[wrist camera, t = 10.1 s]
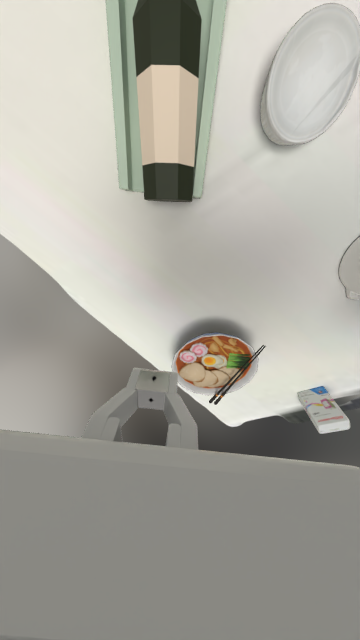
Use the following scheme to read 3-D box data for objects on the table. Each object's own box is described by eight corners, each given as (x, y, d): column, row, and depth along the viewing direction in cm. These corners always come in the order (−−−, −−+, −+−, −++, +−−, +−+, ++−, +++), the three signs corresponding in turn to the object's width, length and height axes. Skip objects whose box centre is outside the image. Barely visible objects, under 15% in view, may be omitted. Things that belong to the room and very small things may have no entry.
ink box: (323, 385, 60) (351, 420, 50) (324, 393, 62) (351, 429, 52) (296, 392, 62) (317, 427, 52) (298, 399, 64) (319, 435, 54)
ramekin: (307, 158, 30) (329, 149, 25) (243, 146, 29) (253, 135, 25) (350, 50, 24) (388, 13, 19) (271, 32, 23) (291, -10, 19)
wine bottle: (133, 198, 28) (83, -337, 12) (159, 201, 34) (150, -144, 18) (181, 199, 25) (199, -499, 9) (200, 202, 32) (230, -204, 16)
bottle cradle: (246, -174, 17) (259, -253, 14) (199, 198, 33) (201, 197, 30) (102, -197, 17) (84, -283, 14) (125, 190, 33) (119, 188, 30)
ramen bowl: (196, 301, 45) (198, 318, 38) (269, 333, 49) (283, 354, 42) (160, 364, 57) (156, 385, 50) (221, 385, 61) (225, 408, 55)
